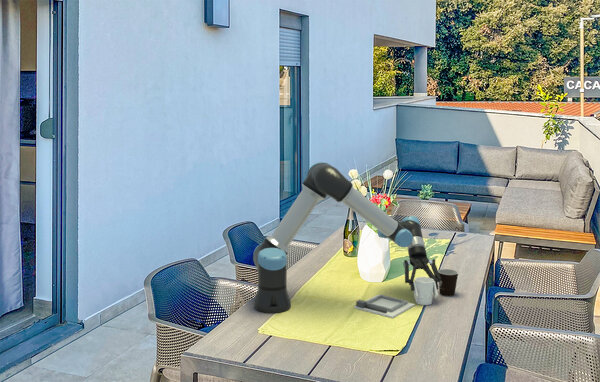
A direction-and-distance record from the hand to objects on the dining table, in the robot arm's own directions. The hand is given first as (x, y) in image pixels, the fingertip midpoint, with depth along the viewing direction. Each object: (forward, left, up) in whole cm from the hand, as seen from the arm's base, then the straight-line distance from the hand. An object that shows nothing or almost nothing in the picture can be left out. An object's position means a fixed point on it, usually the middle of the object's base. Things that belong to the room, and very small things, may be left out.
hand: (426, 297), depth 260 cm
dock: (-12, -12, -4) cm, 17 cm away
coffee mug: (0, +20, -4) cm, 21 cm away
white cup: (-2, +2, -4) cm, 5 cm away
